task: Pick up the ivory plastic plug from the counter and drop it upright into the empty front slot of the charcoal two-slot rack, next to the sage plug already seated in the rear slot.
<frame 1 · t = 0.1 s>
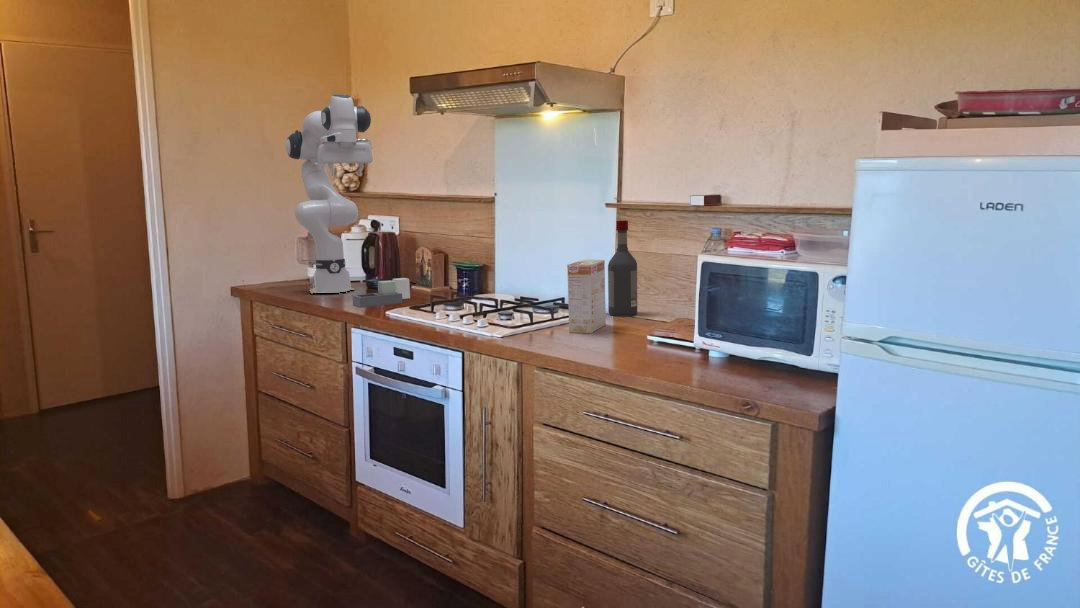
hand: (346, 175, 287), 48 cm above the worktop, fingers open, 8 cm apart
ivory plug: (401, 299, 294), on the worktop
liquor: (623, 314, 244), on the worktop
slot rack: (377, 305, 279), on the worktop
coffeecake box: (587, 329, 219), on the worktop
sage plug: (387, 302, 280), resting on slot rack
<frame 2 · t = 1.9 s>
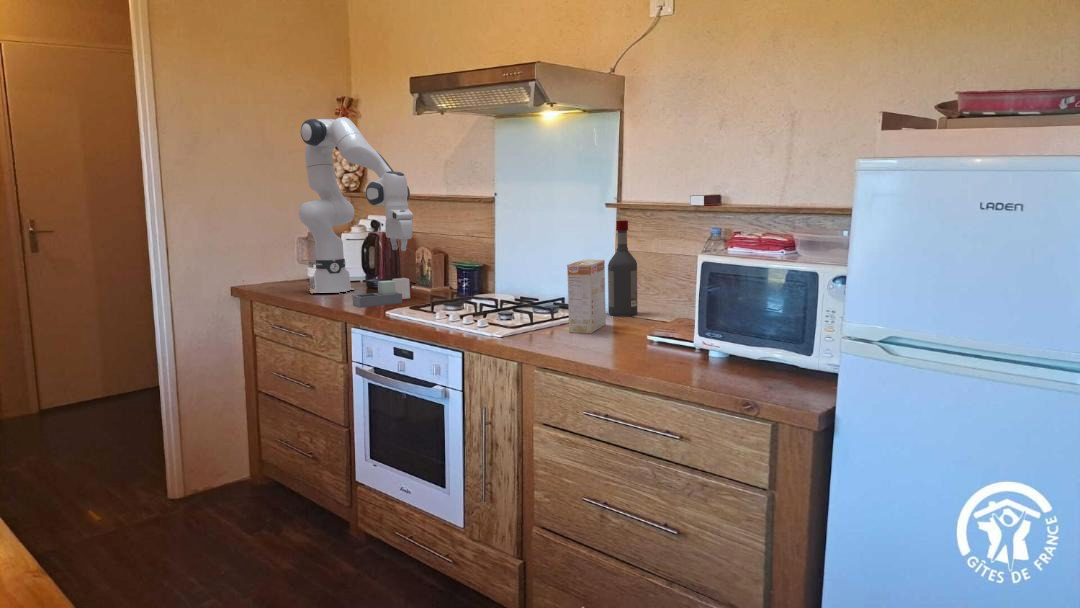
hand: (399, 250, 291), 19 cm above the worktop, fingers open, 8 cm apart
nothing on the worktop moved.
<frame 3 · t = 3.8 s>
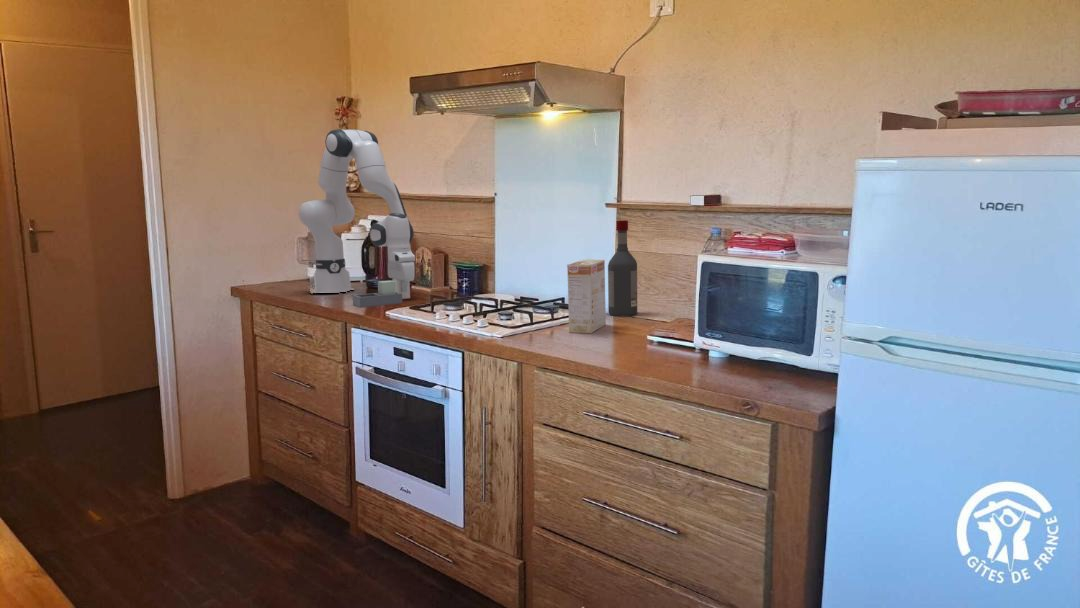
hand: (401, 291, 293), 3 cm above the worktop, fingers closed on ivory plug, 5 cm apart
ivory plug: (401, 299, 294), on the worktop, touching gripper
everything else where it was.
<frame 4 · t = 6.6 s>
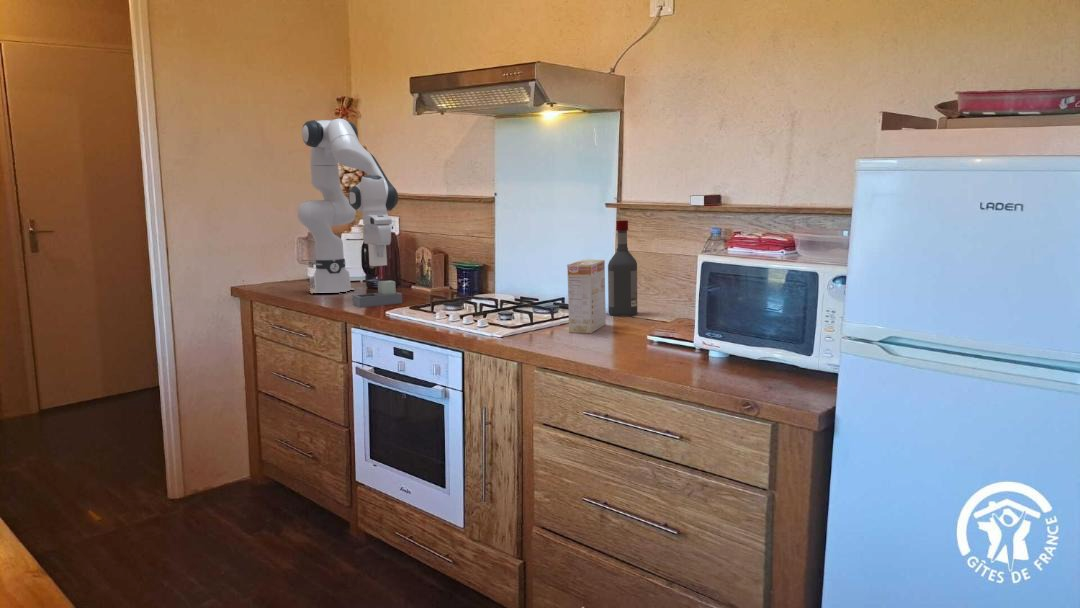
hand: (377, 256, 280), 18 cm above the worktop, fingers closed on ivory plug, 5 cm apart
ivory plug: (378, 265, 280), point 14 cm above the worktop, touching gripper
everything else where it was.
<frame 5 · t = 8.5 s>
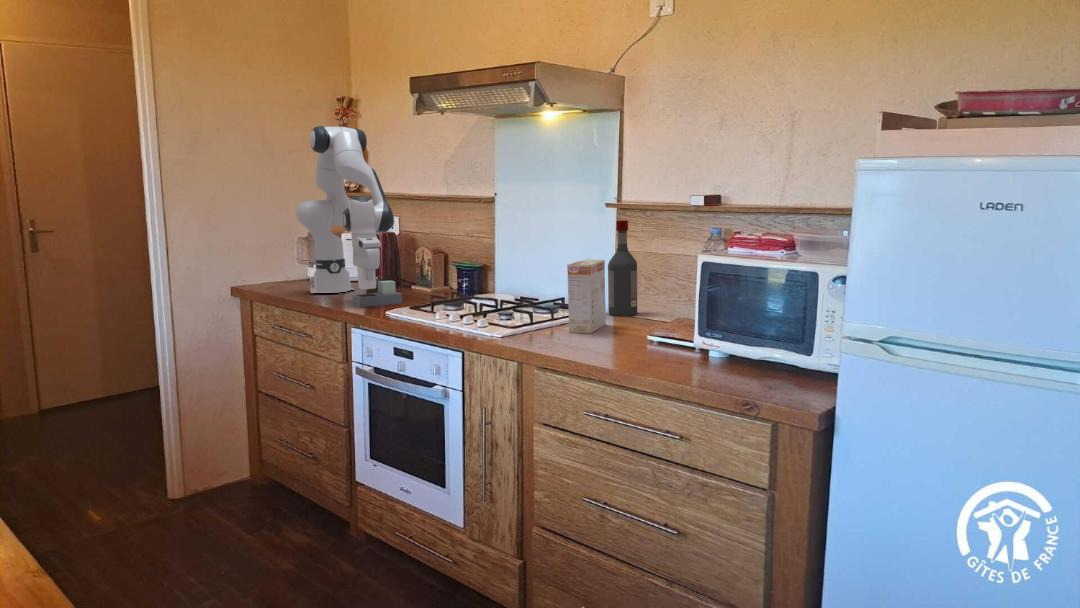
hand: (366, 279, 275), 10 cm above the worktop, fingers closed on ivory plug, 5 cm apart
ivory plug: (367, 288, 276), point 7 cm above the worktop, touching gripper
everything else where it was.
when the fingers open (6 cm above the worktop, at t = 9.7 s): ivory plug drops 2 cm, resting on slot rack.
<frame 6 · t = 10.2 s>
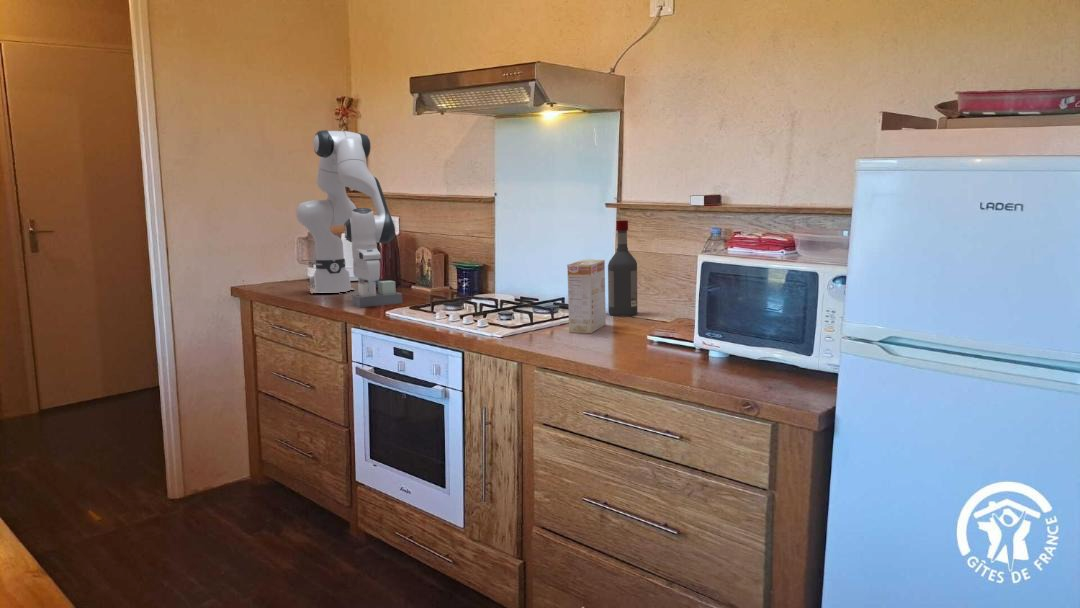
hand: (367, 291, 276), 6 cm above the worktop, fingers open, 8 cm apart
ivory plug: (367, 304, 277), resting on slot rack
everything else where it was.
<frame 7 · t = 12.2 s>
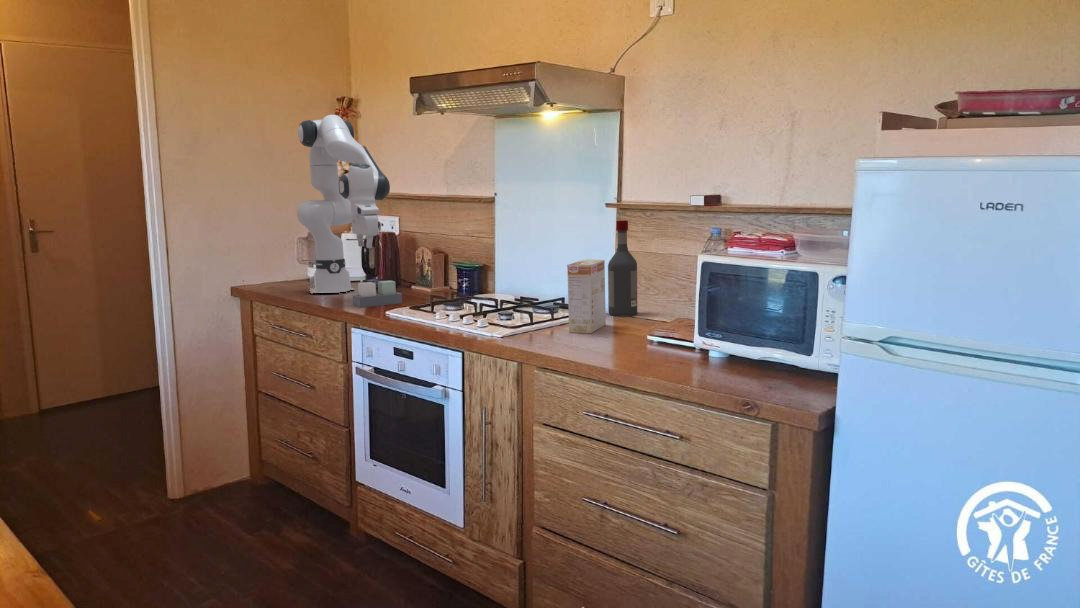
hand: (365, 247, 275), 21 cm above the worktop, fingers open, 8 cm apart
nothing on the worktop moved.
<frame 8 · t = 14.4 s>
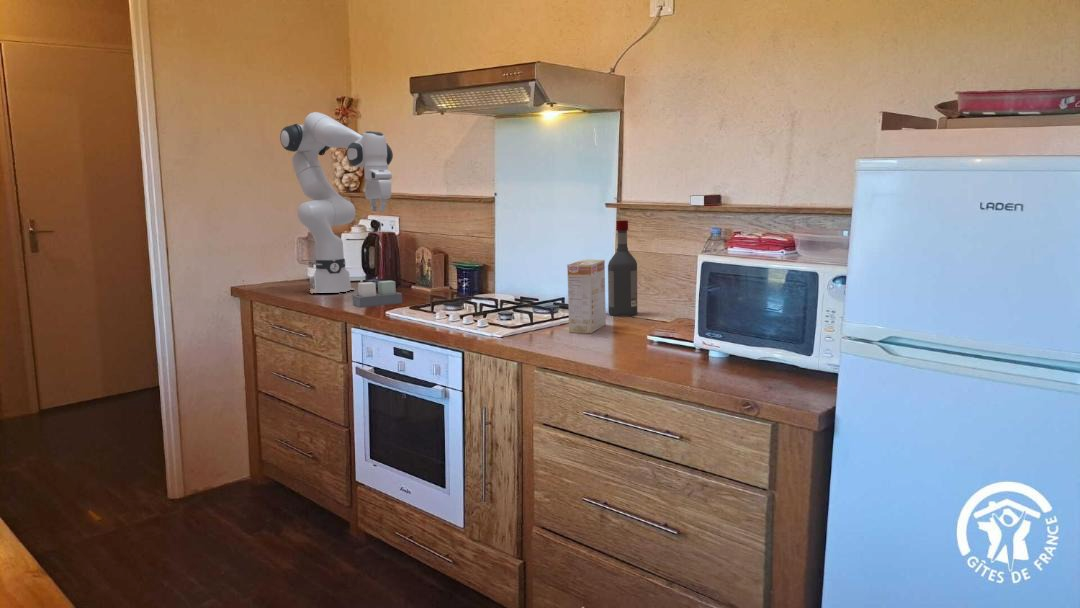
hand: (378, 211, 289), 34 cm above the worktop, fingers open, 8 cm apart
nothing on the worktop moved.
at the end: ivory plug 0.1 cm from the target spot on the slot rack, point 0.5 cm above the slot rack's base; ivory plug tilted 0°; sage plug moved 0.0 cm from its start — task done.
